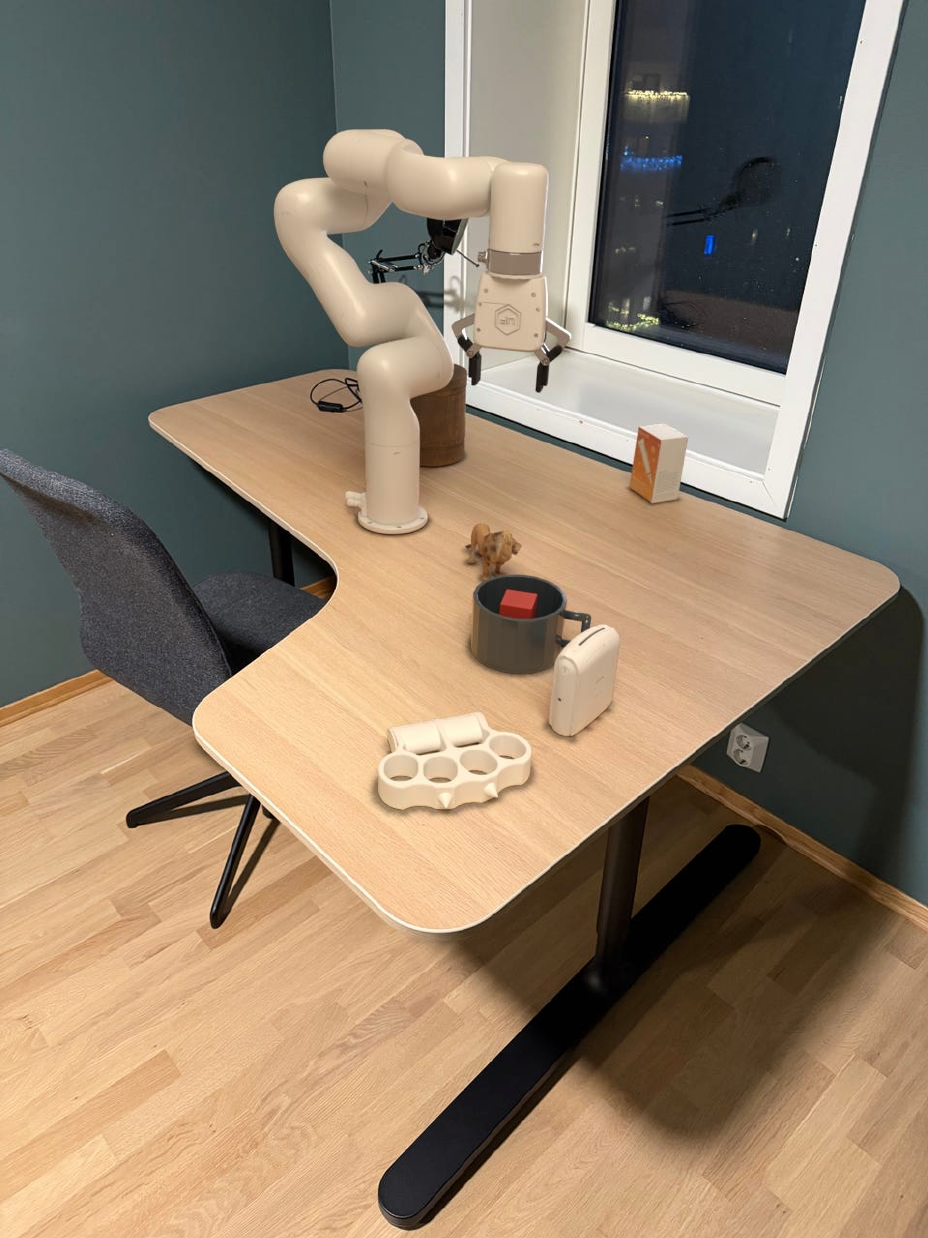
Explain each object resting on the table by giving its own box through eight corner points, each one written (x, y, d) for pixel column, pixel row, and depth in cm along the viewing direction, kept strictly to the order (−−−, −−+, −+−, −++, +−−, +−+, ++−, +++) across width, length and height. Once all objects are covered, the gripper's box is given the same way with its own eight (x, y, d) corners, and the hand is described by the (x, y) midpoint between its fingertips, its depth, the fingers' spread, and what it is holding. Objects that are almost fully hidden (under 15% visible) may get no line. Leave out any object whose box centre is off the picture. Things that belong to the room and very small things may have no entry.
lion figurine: (522, 584, 141) (526, 534, 136) (493, 591, 139) (497, 540, 134) (478, 547, 152) (480, 498, 147) (451, 552, 150) (452, 504, 145)
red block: (497, 650, 123) (500, 604, 119) (503, 634, 127) (506, 589, 123) (527, 655, 122) (531, 609, 119) (533, 639, 126) (537, 593, 122)
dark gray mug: (461, 665, 121) (463, 612, 116) (482, 618, 132) (485, 568, 127) (579, 685, 118) (586, 632, 113) (591, 636, 128) (598, 585, 124)
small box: (628, 488, 176) (637, 425, 170) (655, 484, 179) (665, 422, 172) (651, 504, 170) (661, 439, 163) (678, 499, 172) (689, 436, 166)
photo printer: (571, 742, 107) (581, 658, 101) (542, 727, 110) (551, 644, 103) (615, 705, 114) (628, 624, 108) (588, 691, 117) (598, 611, 110)
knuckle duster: (501, 720, 111) (547, 798, 99) (360, 747, 105) (392, 832, 94) (502, 699, 109) (549, 775, 97) (360, 724, 104) (391, 808, 92)
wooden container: (477, 452, 191) (481, 349, 179) (439, 472, 180) (441, 364, 169) (420, 437, 197) (422, 337, 186) (381, 456, 187) (379, 351, 175)
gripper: (447, 262, 120) (444, 387, 128) (573, 273, 116) (561, 400, 125) (461, 254, 126) (457, 373, 135) (581, 264, 122) (569, 385, 131)
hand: (507, 386), depth 130 cm, fingers open, 9 cm apart
